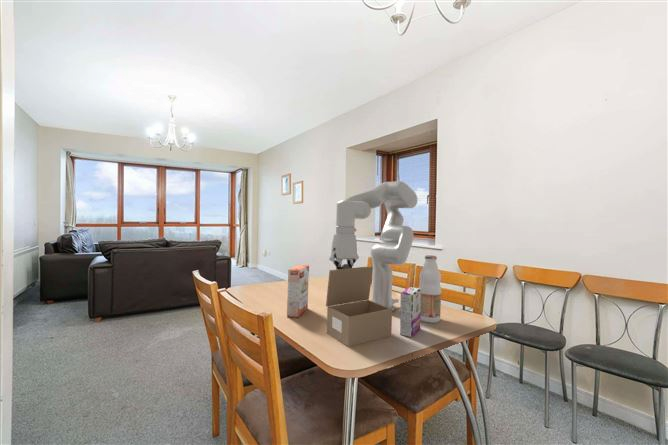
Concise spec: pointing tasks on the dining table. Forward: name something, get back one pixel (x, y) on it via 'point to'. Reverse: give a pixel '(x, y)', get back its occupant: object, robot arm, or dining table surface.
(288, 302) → the cracker box
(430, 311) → the fruit juice
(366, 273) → the carton lid
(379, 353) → the dining table surface
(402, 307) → the candy bar box
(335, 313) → the carton
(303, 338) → the dining table surface
